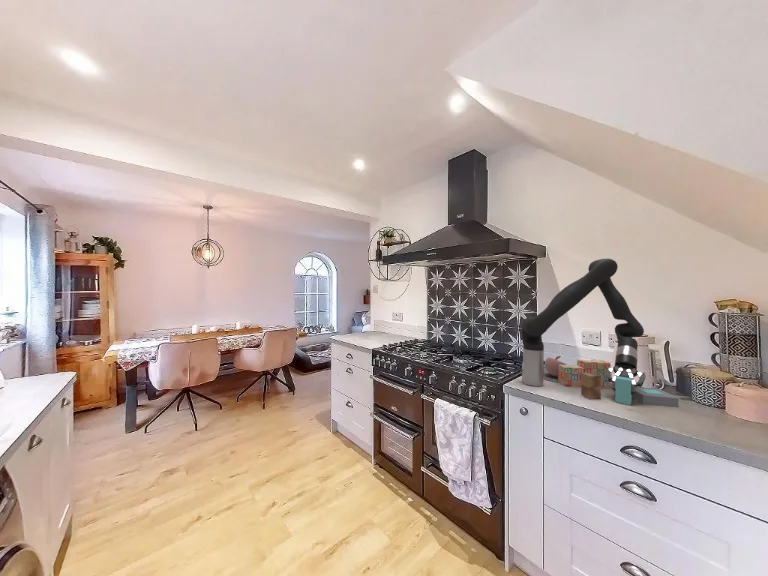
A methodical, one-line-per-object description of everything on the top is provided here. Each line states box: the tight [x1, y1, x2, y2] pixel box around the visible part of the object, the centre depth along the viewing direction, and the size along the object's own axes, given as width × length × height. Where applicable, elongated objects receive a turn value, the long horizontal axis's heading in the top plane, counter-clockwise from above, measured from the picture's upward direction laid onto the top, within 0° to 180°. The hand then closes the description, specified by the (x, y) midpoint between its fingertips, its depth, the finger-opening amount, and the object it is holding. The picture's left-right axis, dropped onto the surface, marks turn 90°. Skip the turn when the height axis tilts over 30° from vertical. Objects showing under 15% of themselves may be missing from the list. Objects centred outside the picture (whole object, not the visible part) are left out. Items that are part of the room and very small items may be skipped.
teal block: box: [614, 376, 633, 406], centre depth 124 cm, size 5×5×10 cm
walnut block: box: [580, 373, 602, 400], centre depth 130 cm, size 5×5×10 cm
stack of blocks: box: [557, 358, 612, 389], centre depth 147 cm, size 21×6×12 cm, turn 85°
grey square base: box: [632, 386, 679, 408], centre depth 127 cm, size 12×12×4 cm
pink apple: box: [544, 355, 568, 378], centre depth 161 cm, size 12×12×12 cm
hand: (623, 391), depth 123 cm, fingers closed on teal block, 5 cm apart
